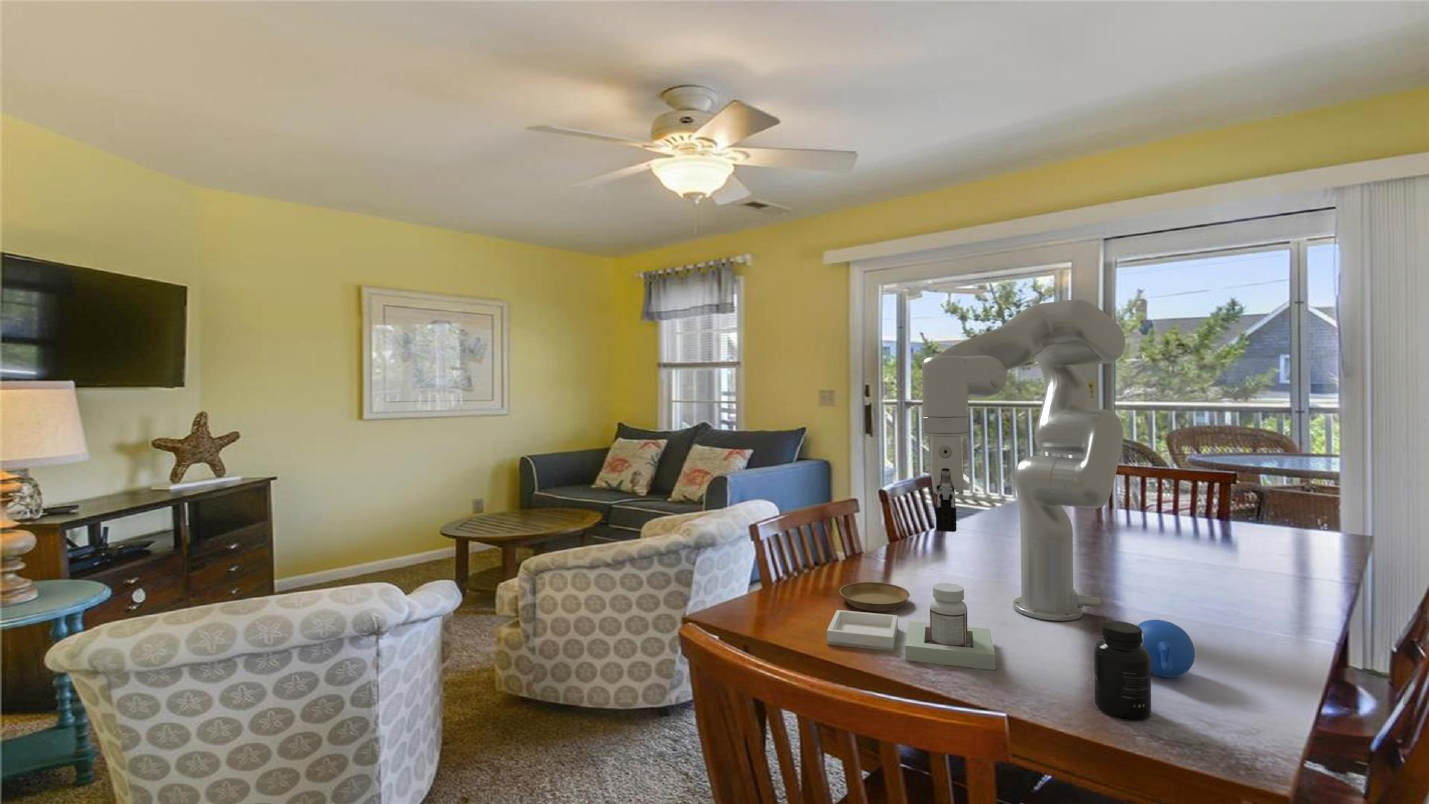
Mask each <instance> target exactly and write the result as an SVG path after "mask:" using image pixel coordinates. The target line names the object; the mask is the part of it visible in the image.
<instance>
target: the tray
mask: <svg viewBox="0 0 1429 804" xmlns="http://www.w3.org/2000/svg"><path fill="white" fill-rule="evenodd" d="M898 620H899V618H898V615H895V614H885V613H876V612H875V613H873V612H863V611H853V610H844V609H842V610H841V609H837V610H836V611H835V613H834V615H833V617H832V619H831V621H830V623H829V625H828V627H827V630H826V645H830V646H837V647H838V646H839V647H849V648H856V647H857V648H859V649H866V648H867V650H877V651H884V650H886V651H887V652H894V651H895V644H896V640H897V634H898V630H899V622H898Z"/></svg>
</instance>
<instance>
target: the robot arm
mask: <svg viewBox="0 0 1429 804" xmlns="http://www.w3.org/2000/svg"><path fill="white" fill-rule="evenodd" d="M1125 349H1126V337H1125V333H1124V331H1123V329H1122V327H1121V326H1120V324H1118V322H1116V320H1114V319H1113V318H1112V317H1110V316H1109V315H1108V314H1107V313H1105V312H1104V311H1103V310H1102V309H1100V308H1099V307H1097V306H1096V305H1095V304H1093V303H1091V302H1089V301H1087V300H1083V299H1077V298H1076V299H1067V300H1065V299H1064V300H1058V301H1050V302H1042V303H1036V304H1033V305H1029V306H1028V307H1026V308H1025V309H1023V310H1021V311H1020V312H1019V313H1018V314H1016V315H1014V316H1013V317H1012V318H1010V319H1009V320H1008V321H1006V322H1004V323H1003V324H1002V325H1000V326H999V327H998V328H995V329H992V330H989V331H986V332H984V333H981V334H979V335H977V336H975V337H974V336H973V337H970V338H968V339H966V340H963V341H961V342H959V343H957V344H953V345H952V346H950V347H948V348H946V349H945V350H943V351H942V352H941V353H939V354H937V355H935V356H934V355H933V356H929V357H926V358H925V359H924V360H923V361H922V365H921V379H922V380H921V386H922V389H921V392H922V394H921V395H922V397H921V399H922V403H921V405H922V408H921V409H922V436H925V437H929V453H930V454H929V455H930V475H931V485H932V491H933V493H934V494H936V495H937V497H936V506H935V530H936V531H937V532H949V533H955V532H957V507H956V497H955V495H956V493H958V495H960V496H961V495H963V494H964V447H963V438H962V437H968V436H969V398H970V399H971V398H972V399H973V398H974V399H975V398H990V397H992V396H995V395H997V394H999V393H1000V392H1001V391H1003V389H1005V386H1006V385H1007V382H1008V381H1007V379H1008V372H1007V371H1008V370H1012V369H1015V368H1019V367H1021V366H1024V365H1025V364H1027V363H1028V362H1030V361H1031V360H1032V359H1033V358H1035V357H1036V359H1037V362H1038V364H1039V368H1040V369H1041V370H1040V371H1041V372H1042V376H1043V378H1044V382H1045V391H1044V394H1043V395H1044V396H1043V398H1042V399H1043V400H1042V404H1041V407H1040V411H1039V414H1038V418H1037V422H1036V426H1035V430H1034V443H1035V445H1036V446H1037V448H1038V449H1040V450H1042V451H1043V452H1045V453H1049V454H1056V455H1064V456H1052V455H1033V456H1028V457H1025V458H1023V459H1022V460H1020V461H1018V463H1017V464H1016V467H1015V469H1014V474H1013V479H1014V487H1015V491H1016V496H1017V500H1018V507H1019V518H1020V519H1019V521H1020V522H1019V523H1020V527H1019V528H1020V529H1019V530H1020V588H1021V589H1020V593H1021V594H1020V595H1021V596H1019V597H1017V598H1015V599H1014V600H1013V601H1012V603H1013V604H1012V606H1013V609H1014V611H1017V612H1018V613H1020V614H1022V615H1025V616H1028V617H1030V618H1035V619H1040V620H1045V621H1052V622H1053V621H1055V622H1056V621H1058V622H1059V621H1060V622H1065V621H1074V620H1078V619H1080V618H1081V617H1082V616H1083V608H1084V607H1091V608H1097V609H1099V608H1100V609H1101V607H1102V601H1101V597H1095V596H1094V597H1093V596H1091V595H1090V594H1078V592H1076V590H1075V589H1074V542H1073V541H1074V534H1073V533H1074V530H1073V524H1072V521H1071V518H1070V516H1069V515H1068V514H1067V512H1066V510H1065V509H1064V507H1063V506H1067V507H1072V508H1079V509H1081V508H1082V509H1093V510H1094V509H1095V510H1096V509H1100V508H1102V507H1104V506H1105V505H1106V504H1107V503H1108V501H1109V500H1110V497H1111V495H1112V491H1113V488H1114V483H1115V479H1116V474H1117V471H1118V468H1119V467H1118V466H1119V463H1120V459H1121V458H1120V457H1121V454H1122V448H1123V444H1124V428H1123V423H1122V420H1121V419H1120V417H1119V416H1118V415H1117V414H1116V413H1115V412H1113V411H1111V410H1109V409H1103V408H1102V409H1101V408H1089V406H1090V400H1091V396H1092V391H1091V388H1090V385H1089V384H1088V382H1087V380H1086V379H1085V378H1084V377H1083V376H1082V374H1081V373H1080V372H1079V371H1078V370H1077V368H1076V367H1075V366H1078V365H1079V366H1081V365H1082V366H1083V365H1105V364H1110V363H1114V362H1116V361H1118V360H1119V359H1120V358H1121V357H1122V355H1123V354H1124V352H1125ZM1065 455H1066V456H1067V455H1068V456H1081V457H1083V458H1077V457H1076V458H1075V457H1066V456H1065Z"/></svg>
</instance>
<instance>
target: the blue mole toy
mask: <svg viewBox="0 0 1429 804" xmlns="http://www.w3.org/2000/svg"><path fill="white" fill-rule="evenodd" d="M1136 626H1138V627H1140V628H1141V629H1142V638H1143V643H1142V644H1141V646H1143V647H1144V648H1145V649H1146V650H1147V651H1148V652H1149V654H1150V657H1151V675H1152V674H1153V675H1155V676H1159V677H1162V678H1176V677H1179V676H1183V675H1185V674H1186V673H1188V672H1189V671H1190V670H1191V668H1192V667H1193V664H1194V663H1195V657H1196V653H1195V651H1196V650H1195V646H1194V643H1193V641H1192V639H1191V637H1190V636H1189V634H1188V632H1186V631H1185V630H1184V629H1183V628H1181V627H1180V626H1179V625H1177V624H1175V623H1174V622H1170V621H1168V620H1163V619H1149V620H1144V621H1142V622H1140V623H1138V624H1137V625H1136Z"/></svg>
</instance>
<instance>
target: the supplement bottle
mask: <svg viewBox="0 0 1429 804" xmlns="http://www.w3.org/2000/svg"><path fill="white" fill-rule="evenodd" d="M1101 638H1102V639H1101V640H1099V641H1097V643H1096V644H1095V645H1094V650H1093V657H1094V658H1093V661H1094V663H1093V665H1094V667H1093V670H1094V671H1093V673H1094V681H1093V682H1094V685H1093V686H1094V703H1095V706H1096V707H1097V708H1098V709H1099V710H1100V711H1101V712H1103V713H1104V714H1106V715H1108V716H1110V717H1112V718H1115V719H1119V720H1123V721H1130V722H1140V721H1145V720H1147V719H1148V718H1149V717H1150V716H1151V714H1152V673H1151V657H1150V654H1149V652H1148V651H1147V650H1146V649H1145V648H1144V647H1143V646H1141V644H1142V643H1143V638H1142V629H1141V628H1140V627H1138V626H1137V625H1136V624H1134V623H1131V622H1126V621H1122V620H1121V621H1120V620H1106V621H1103V623H1102V624H1101Z"/></svg>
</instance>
